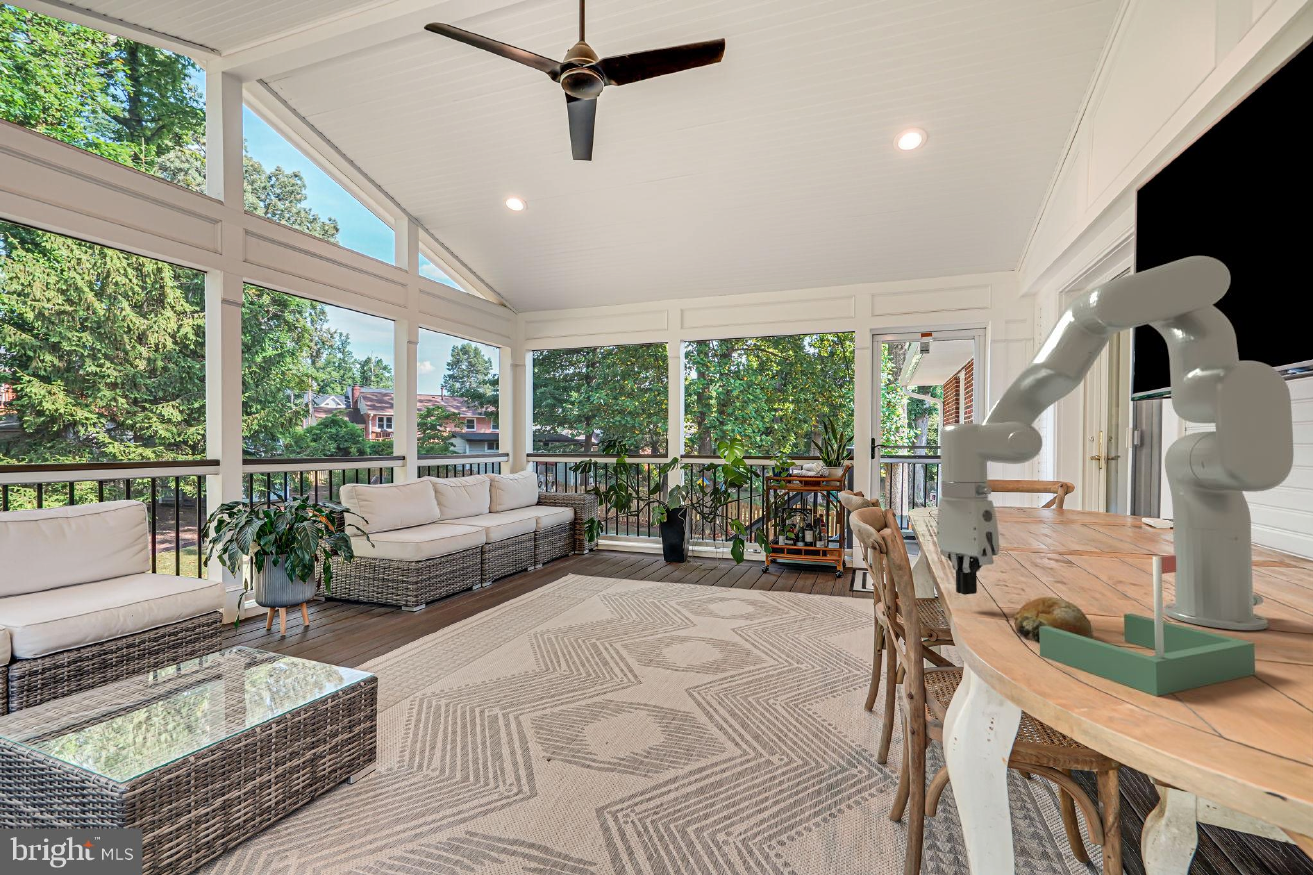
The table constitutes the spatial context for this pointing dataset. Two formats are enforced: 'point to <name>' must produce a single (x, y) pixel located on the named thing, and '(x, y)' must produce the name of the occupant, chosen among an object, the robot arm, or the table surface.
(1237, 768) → the table surface
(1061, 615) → the bread roll
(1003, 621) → the table surface
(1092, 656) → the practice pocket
